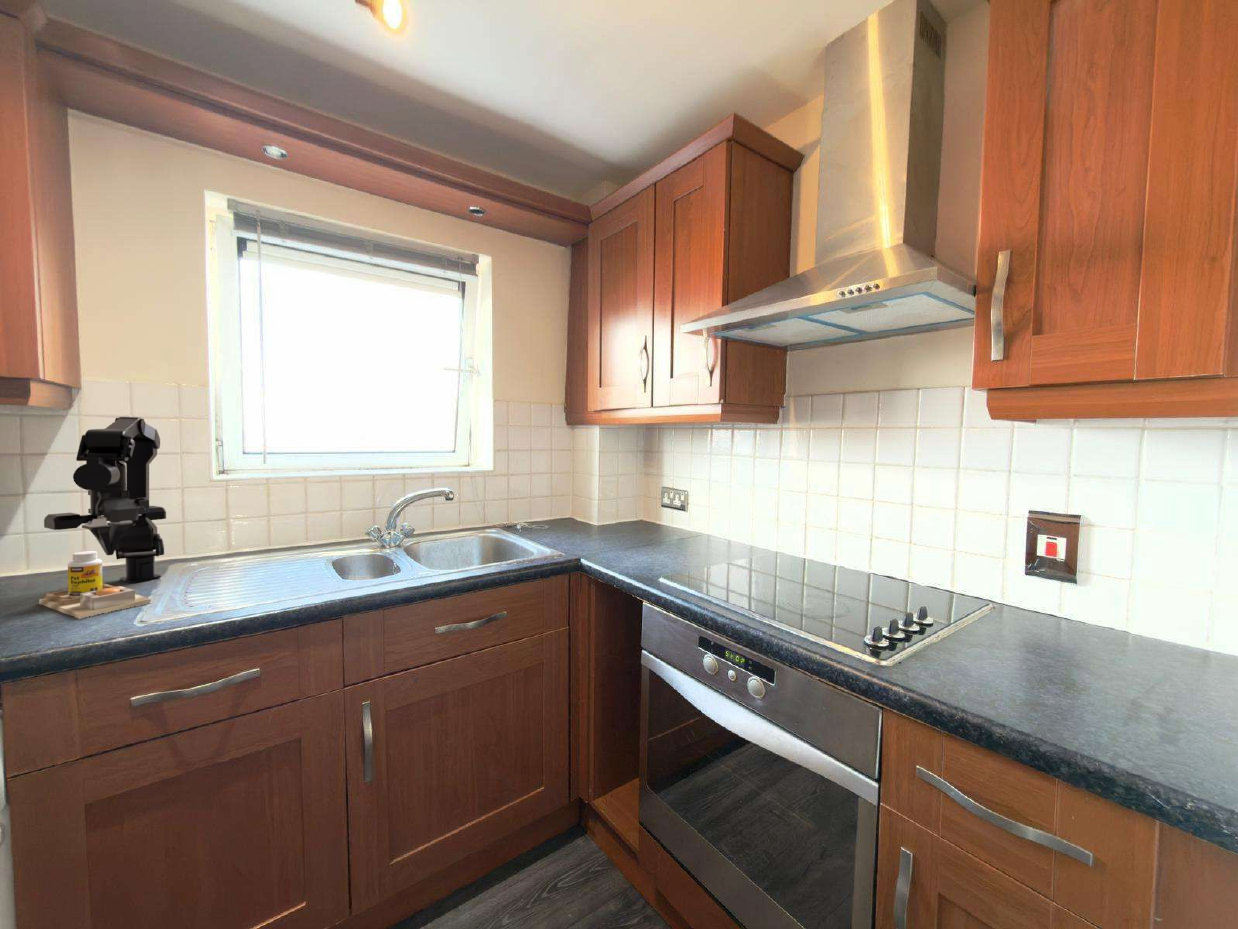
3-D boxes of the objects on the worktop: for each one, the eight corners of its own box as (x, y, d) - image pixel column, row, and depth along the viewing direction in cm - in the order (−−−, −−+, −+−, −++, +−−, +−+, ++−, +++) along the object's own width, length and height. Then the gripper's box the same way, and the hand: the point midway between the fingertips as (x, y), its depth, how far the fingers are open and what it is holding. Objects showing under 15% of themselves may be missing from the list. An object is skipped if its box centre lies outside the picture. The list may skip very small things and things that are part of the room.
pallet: (39, 603, 116) (38, 588, 115) (109, 590, 126) (108, 576, 126) (79, 618, 107) (79, 602, 107) (150, 603, 118) (150, 587, 118)
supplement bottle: (64, 600, 115) (63, 556, 115) (72, 594, 120) (71, 551, 119) (99, 597, 118) (98, 553, 118) (105, 591, 123) (104, 549, 122)
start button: (92, 599, 113) (92, 590, 113) (115, 595, 117) (114, 586, 117) (100, 602, 112) (100, 593, 112) (123, 597, 115) (123, 589, 115)
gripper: (65, 492, 102) (67, 568, 103) (178, 485, 119) (178, 551, 119) (42, 488, 106) (43, 561, 107) (153, 482, 123) (154, 546, 124)
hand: (109, 555), depth 114 cm, fingers closed
